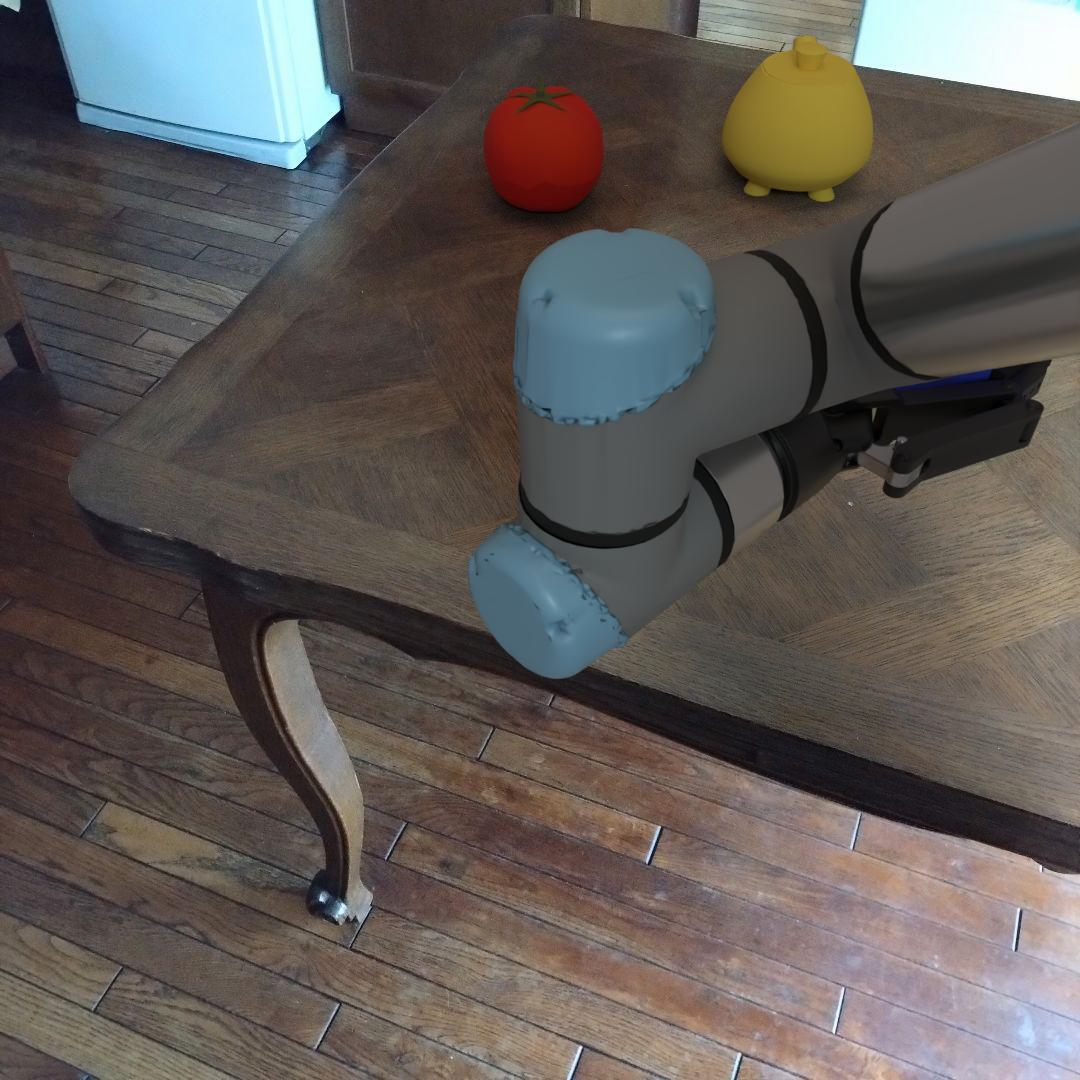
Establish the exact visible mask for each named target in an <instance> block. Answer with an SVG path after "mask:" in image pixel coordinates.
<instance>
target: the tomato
mask: <svg viewBox="0 0 1080 1080" xmlns="http://www.w3.org/2000/svg"><path fill="white" fill-rule="evenodd" d="M585 89H586V88H582V89H581V88H580V89H576V90H571V89H570V88H567V87H564V86H557V85H556V86H555V85H550V86H546V87H545V81H544V75H543V74H541V75H540V77H539V82H538V87H537V88H534V87H528V86H525V85H521V86H519V87H517V88H515V89H512V90H510V91H508V92H507V94H506V95H505V97H504V98H503V97H502V98H501V97H500V99H502V100H503V101H501V102H500V103H498V104H497V106H496V107H495V108H494V109H492V110H491V112H490V114H489V116H488V120H487V123H486V124H485V128H484V131H483V148H482V150H483V157H484V162H485V166H486V170H487V173H488V176H489V179H490V181H491V184H492V187H493V189H494V190H495V191H496V193H497V195H498V196H500V197H501V198H502V199H504V200H505V201H506V202H507V203H509V204H510V205H511V206H512V207H515V208H517V209H518V208H519V209H522V210H525V211H529V212H543V213H544V212H546V213H548V212H550V213H551V212H554V213H562V212H564V211H568V210H570V209H573V208H575V207H576V206H577V205H578V204H580V203H581V202H582V201H583V200H584V199H585V198H586V197H587V196H588V195H589V194H590V193H591V192H592V191H593V189H594V187H595V186H596V184H597V183H598V181H599V179H600V177H601V175H602V172H603V164H604V157H605V155H604V153H605V148H604V147H605V145H604V137H603V135H604V134H603V129H602V125H601V122H600V119H599V118H598V116H597V114H596V113H595V111H594V110H593V109H592V108H591V106H590V105H589V104H588V103H587V102H586V100H585V99H584V98H583V97H582V96H580V95H579V94H577V92H580V91H582V90H585Z"/></svg>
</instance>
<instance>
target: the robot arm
mask: <svg viewBox="0 0 1080 1080" xmlns="http://www.w3.org/2000/svg"><path fill="white" fill-rule="evenodd" d="M520 283H521V284H520V287H519V290H518V300H517V311H516V315H515V316H516V317H515V328H514V349H513V359H512V370H513V371H512V375H513V386H514V389H515V402H516V404H515V405H516V415H517V416H516V417H517V428H518V429H517V430H518V445H519V446H518V447H519V461H520V462H519V464H520V471H519V477H518V485H517V508H518V510H517V511H518V514H517V515H516V516H515V518H513V519H512V520H511V521H509V522H505V523H501V524H499V525H498V527H496V528H495V530H494V532H492V533H490V535H489V536H488V537H487V538H485V539H484V540H482V542H480V543H479V544H478V545H477V546H476V547H475V549H474V551H473V552H472V556H471V557H470V559H469V561H468V564H467V583H468V587H469V591H470V595H471V598H472V601H473V603H474V606H475V608H476V610H477V612H478V614H479V617H480V618H481V620H482V622H483V624H484V625H485V626H486V628H487V629H488V631H489V632H490V634H491V635H492V636H493V639H495V640H496V642H497V643H498V644H499V645H500V647H502V649H503V650H505V651H506V653H508V655H510V656H511V657H512V658H513V659H515V660H516V662H518V663H519V664H520V665H521V666H522V667H523V668H526V669H527V670H529V671H530V672H532V673H534V674H536V675H538V676H540V677H544V678H549V679H554V680H558V679H559V680H560V679H567V678H571V677H574V676H575V675H577V674H579V673H580V672H582V671H583V670H585V669H586V668H587V667H589V666H590V665H592V664H593V663H595V662H596V661H597V660H599V659H601V658H602V657H603V656H605V655H606V654H608V653H610V651H612V650H613V649H618V648H619V649H621V648H622V647H624V646H625V645H627V643H628V641H629V640H630V639H631V638H632V637H634V635H636V634H637V633H638V632H640V631H641V630H642V629H643V628H645V627H646V626H647V625H648V624H650V623H651V622H652V621H654V620H655V619H656V618H657V617H659V616H660V615H661V614H663V613H664V612H665V611H666V610H668V608H670V607H671V606H672V605H674V604H675V603H676V602H678V601H679V600H680V599H682V598H683V597H684V596H685V595H687V594H688V593H689V592H690V591H691V590H693V589H694V588H695V587H696V586H698V585H699V584H700V583H701V582H703V581H704V580H705V579H706V578H708V577H709V576H710V575H711V574H712V573H713V572H715V571H716V570H717V569H719V568H720V567H721V566H722V565H725V564H726V563H727V562H728V561H730V560H731V559H733V557H735V556H736V555H737V554H739V553H740V552H742V551H743V550H744V549H745V548H747V547H748V546H749V545H751V544H752V543H753V542H755V541H756V540H757V539H758V538H760V537H761V536H763V535H764V534H765V533H766V532H768V531H769V530H771V528H773V527H774V525H775V524H776V523H778V522H781V521H782V520H784V519H786V518H787V517H788V516H789V515H791V514H792V513H793V512H795V511H796V510H798V509H799V508H800V507H801V506H803V505H804V504H806V502H808V501H809V500H810V499H812V498H813V497H814V496H815V495H817V494H819V492H820V491H822V490H823V489H824V488H825V487H826V486H827V485H828V484H829V483H830V481H832V480H833V479H834V478H835V477H836V476H837V475H839V474H840V473H842V472H846V471H852V470H856V469H859V468H861V467H862V468H863V469H866V470H867V471H869V472H871V473H872V474H873V475H875V476H878V477H879V478H881V479H883V480H884V481H883V484H882V492H883V495H885V496H887V497H889V498H890V499H902V498H904V497H905V496H906V495H908V494H909V493H910V492H911V491H912V490H914V489H915V488H916V487H917V486H919V484H920V483H922V482H924V481H927V480H930V479H933V478H937V477H939V476H941V475H943V476H944V475H946V474H949V473H952V472H955V471H957V470H960V469H964V468H966V467H970V466H973V465H976V464H979V463H982V462H985V461H989V460H988V459H991V458H994V459H995V458H998V457H1000V456H1003V455H1006V454H1009V453H1013V452H1016V451H1019V450H1022V449H1025V448H1027V447H1029V445H1030V443H1031V441H1032V439H1033V436H1034V434H1035V432H1036V430H1037V427H1038V425H1039V422H1040V420H1041V418H1042V415H1043V413H1044V410H1045V405H1044V404H1043V403H1042V402H1041V401H1039V400H1037V399H1033V398H1034V397H1035V396H1037V394H1039V391H1040V389H1041V387H1042V384H1043V383H1044V380H1045V378H1046V375H1047V372H1048V368H1049V367H1050V366H1051V364H1052V362H1053V360H1056V359H1061V358H1067V357H1075V356H1080V121H1077V122H1076V123H1073V124H1070V125H1068V126H1066V127H1063V128H1061V129H1059V130H1056V131H1054V132H1052V133H1050V134H1047V135H1044V136H1042V137H1040V138H1038V139H1035V140H1033V141H1031V142H1028V143H1026V144H1024V145H1021V146H1018V147H1016V148H1014V149H1012V150H1009V151H1007V152H1005V153H1002V154H1000V155H998V156H995V157H993V158H991V159H989V160H986V161H983V162H981V163H979V164H976V165H974V166H971V167H970V168H967V169H965V170H962V171H960V172H958V173H954V174H952V175H950V176H948V177H946V178H944V179H941V180H938V181H936V182H934V183H932V184H929V185H927V186H925V187H922V188H919V189H918V190H915V191H913V192H911V193H908V194H906V195H904V196H903V195H902V196H900V197H899V198H896V199H893V200H889V201H887V202H884V203H882V204H880V205H878V206H875V207H872V208H870V209H868V210H865V211H863V212H861V213H858V214H856V215H854V216H851V217H849V218H847V219H845V220H842V221H839V222H836V223H834V224H830V225H828V226H825V227H822V228H819V229H816V230H813V231H810V232H806V233H803V234H800V235H798V236H794V237H791V238H788V239H785V240H782V241H780V242H776V243H773V244H770V245H767V246H764V247H761V248H758V249H753V250H747V251H744V252H739V253H735V254H732V255H727V256H725V257H721V258H718V259H714V260H712V261H708V262H706V261H705V260H704V259H703V257H702V256H700V254H699V253H697V252H696V251H695V250H694V249H693V248H691V247H690V246H689V245H687V244H686V243H684V242H682V241H680V240H678V239H676V238H674V237H672V236H669V235H666V234H663V233H660V232H658V231H653V230H649V229H644V228H634V227H629V228H627V229H625V230H623V231H622V232H621V231H620V232H617V231H616V232H611V231H608V230H605V229H601V228H594V229H588V230H584V231H579V232H577V233H573V234H571V235H568V236H566V237H563V238H562V239H559V240H557V241H555V242H554V243H552V244H551V245H549V246H547V247H546V248H545V249H543V250H542V251H541V252H540V253H539V254H538V255H537V256H536V257H535V258H534V259H532V262H531V263H530V265H529V266H528V268H527V269H526V271H525V272H524V275H523V277H522V280H521V282H520ZM1026 363H1027V364H1026ZM990 369H993V372H992V374H991V377H990V380H989V381H983V382H974V383H965V384H956V385H947V386H938V387H929V388H920V389H911V390H903V391H896V390H895V388H896V387H902V386H908V385H914V384H920V383H925V382H930V381H935V380H939V379H944V378H949V377H952V376H955V375H960V374H966V373H972V372H978V371H984V370H990ZM873 408H877V409H876V412H875V416H874V420H873V416H872V409H873ZM907 438H910V439H907ZM894 441H895V442H894Z"/></svg>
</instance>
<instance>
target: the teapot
mask: <svg viewBox="0 0 1080 1080" xmlns="http://www.w3.org/2000/svg"><path fill="white" fill-rule="evenodd" d="M828 51H829V49H828V47H827V46H826V45H824V44H822V43H819V42H818V39H817V38H816V37H814V36H810V35H803V36H797V37H795V38H794V39H793V42H792V49H789V50H783V51H779V52H776V53H773V54H771V55H769V56H768V57H766V58H765V59H764V60H763V61H762V62H761V63H760V64H759V65H758V66H757V67H756V68H755V69H754V71H753V72H752V74H751V75H750V76H749V77H748V78H747V80H746V81H745V82H744V84H742V86H741V88H740V89H739V91H738V92H737V94H736V95H735V97H734V99H733V101H732V103H731V104H730V106H729V110H728V111H727V114H726V117H725V120H724V124H723V127H722V130H721V136H720V137H721V140H720V141H721V142H720V143H721V147H722V150H723V153H724V154H725V156H726V158H727V159H728V161H729V163H730V164H731V165H732V166H733V167H734V168H735V170H736V171H737V172H738V173H739V174H740V175H741V176H743V178H745V179H746V180H748V181H747V182H746V184H745V186H744V187H743V191H744V193H745V194H746V195H750V196H752V197H765V196H768V195H769V194H770V193H771V190H772V189H774V190H775V189H776V190H781V191H790V192H807V196H808V197H809V198H810V199H811V200H813V201H816V202H819V203H820V202H821V203H823V202H824V203H827V202H830V201H834V199H835V193H834V190H833V188H834V187H836V186H839V185H841V184H843V183H844V182H846V181H847V180H848V179H850V178H851V177H853V176H854V175H855V174H856V173H857V172H859V171H860V170H861V169H862V168H863V167H864V166H865V165H866V164H867V162H868V161H869V159H870V157H871V155H872V149H873V144H874V120H873V114H872V109H871V104H870V102H869V98H868V95H867V93H866V90H865V88H864V85H863V83H862V80H861V77H860V76H859V73H858V72H857V70H856V68H855V66H854V65H853V64H852V63H851V62H850V61H849V60H848V59H846V58H844V57H842V56H840V55H837V54H834V53H831V52H828Z"/></svg>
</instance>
